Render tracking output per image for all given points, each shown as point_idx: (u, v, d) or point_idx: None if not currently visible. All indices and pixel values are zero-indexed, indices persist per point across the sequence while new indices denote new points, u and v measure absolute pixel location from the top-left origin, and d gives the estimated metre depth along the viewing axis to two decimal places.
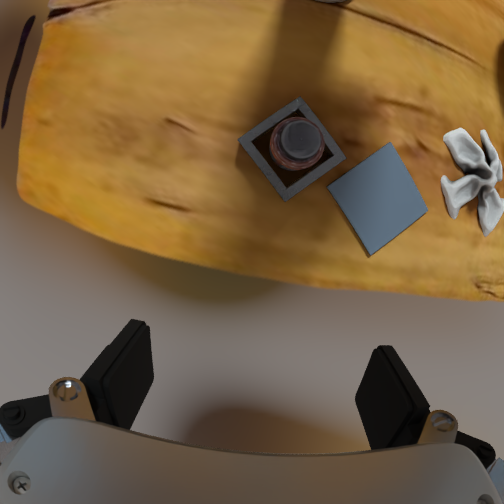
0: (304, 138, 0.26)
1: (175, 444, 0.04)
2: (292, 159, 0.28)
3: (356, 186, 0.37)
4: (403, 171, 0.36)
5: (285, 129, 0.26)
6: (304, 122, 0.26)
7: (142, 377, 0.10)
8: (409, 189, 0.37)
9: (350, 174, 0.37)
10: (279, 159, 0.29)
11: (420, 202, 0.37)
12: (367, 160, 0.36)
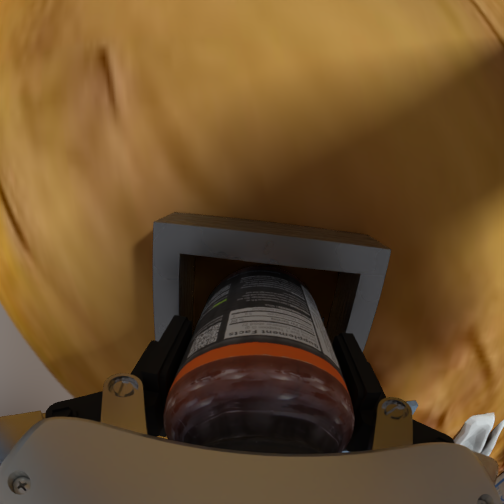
0: None
1: (175, 444, 0.04)
2: None
3: None
4: None
5: None
6: None
7: None
8: None
9: None
10: (166, 434, 0.07)
11: None
12: None
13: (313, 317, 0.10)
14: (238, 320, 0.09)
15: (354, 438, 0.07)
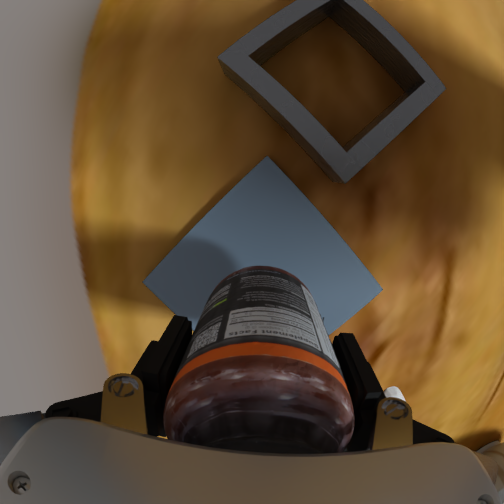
0: None
1: (175, 444, 0.04)
2: None
3: (280, 223, 0.18)
4: (328, 325, 0.19)
5: None
6: None
7: None
8: None
9: (303, 205, 0.17)
10: (166, 434, 0.07)
11: None
12: (340, 242, 0.18)
13: (313, 317, 0.10)
14: (238, 320, 0.09)
15: (354, 438, 0.07)
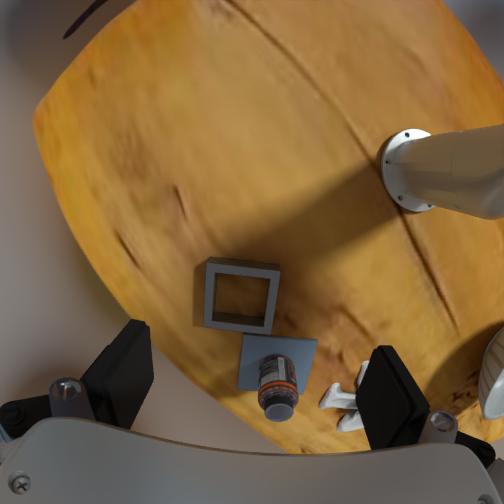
0: (281, 413, 0.34)
1: (175, 444, 0.04)
2: None
3: (264, 348, 0.44)
4: (307, 363, 0.45)
5: (268, 408, 0.34)
6: (283, 405, 0.34)
7: (142, 377, 0.10)
8: (301, 375, 0.46)
9: (266, 339, 0.44)
10: (263, 409, 0.37)
11: (301, 386, 0.46)
12: (288, 340, 0.44)
13: (279, 369, 0.40)
14: (262, 381, 0.39)
15: None
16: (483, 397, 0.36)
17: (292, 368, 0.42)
